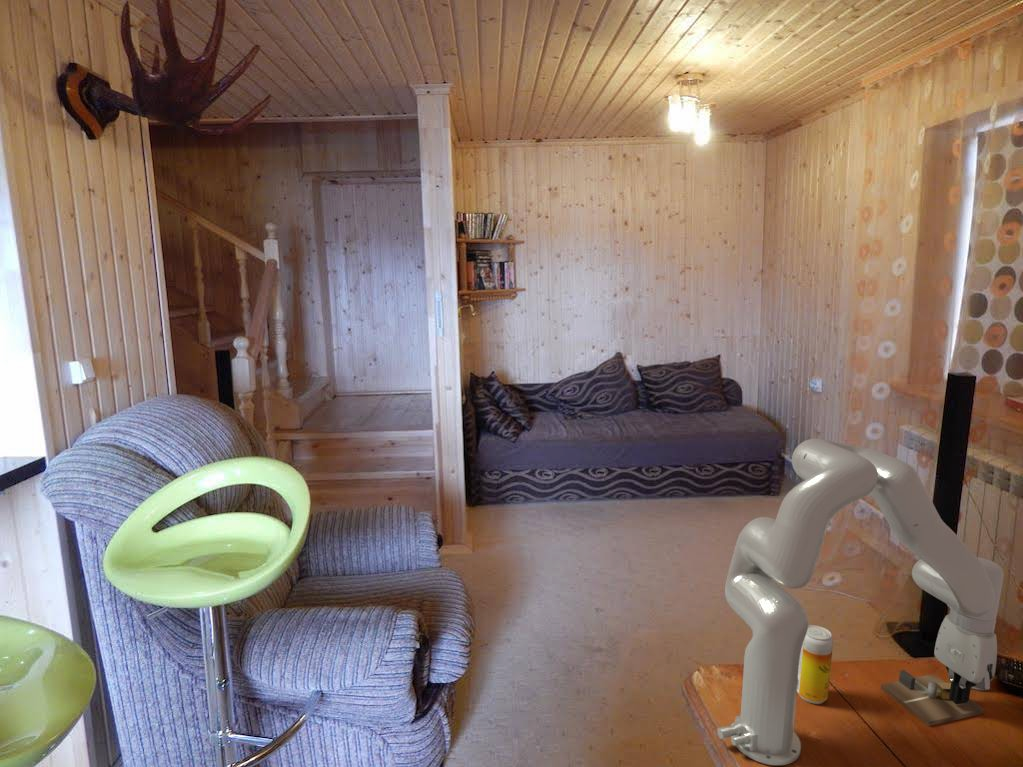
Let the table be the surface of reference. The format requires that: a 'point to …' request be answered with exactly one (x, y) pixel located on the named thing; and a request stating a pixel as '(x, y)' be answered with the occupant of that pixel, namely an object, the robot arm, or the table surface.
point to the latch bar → (943, 690)
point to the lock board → (928, 699)
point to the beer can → (815, 665)
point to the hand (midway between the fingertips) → (958, 700)
